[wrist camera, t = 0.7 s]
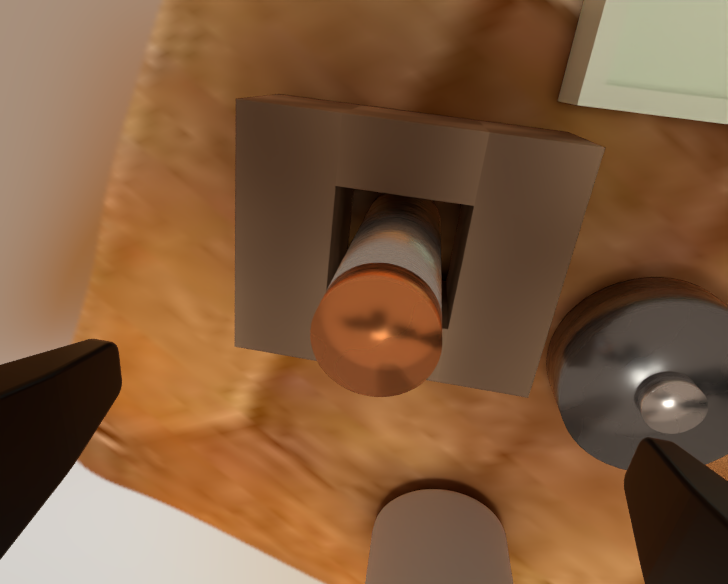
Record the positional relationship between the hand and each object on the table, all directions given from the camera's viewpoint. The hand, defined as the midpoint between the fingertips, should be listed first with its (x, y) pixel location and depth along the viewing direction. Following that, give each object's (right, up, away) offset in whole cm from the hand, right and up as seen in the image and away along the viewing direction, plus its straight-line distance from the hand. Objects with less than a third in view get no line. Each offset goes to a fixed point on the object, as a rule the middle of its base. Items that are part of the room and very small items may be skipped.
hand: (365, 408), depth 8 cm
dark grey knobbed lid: (+11, -1, +11) cm, 15 cm away
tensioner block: (+1, +5, +10) cm, 11 cm away
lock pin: (+1, +5, +10) cm, 11 cm away
